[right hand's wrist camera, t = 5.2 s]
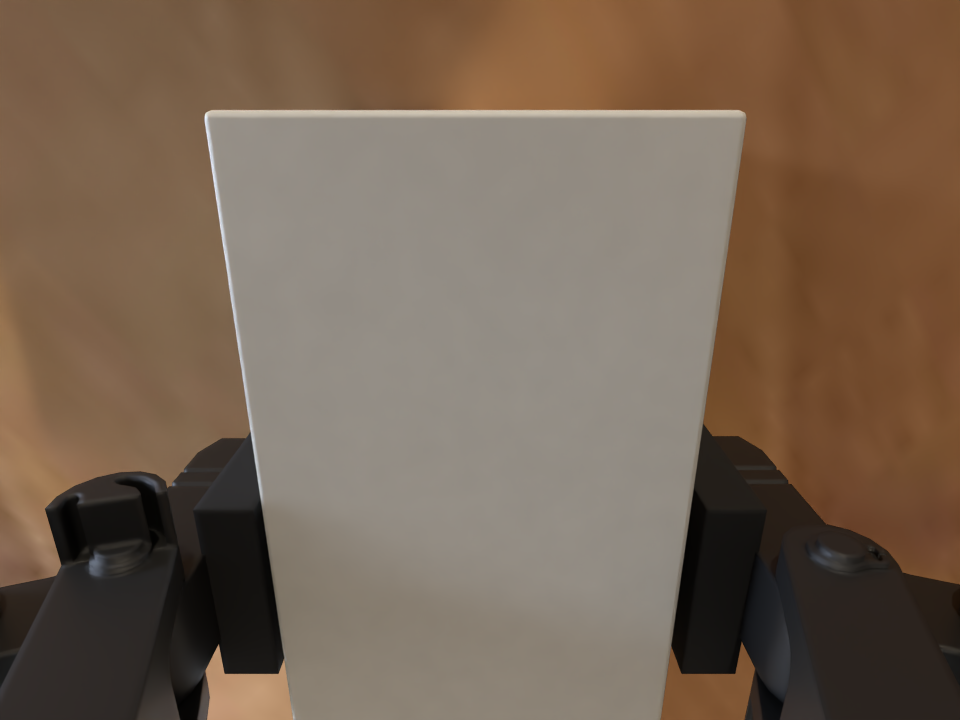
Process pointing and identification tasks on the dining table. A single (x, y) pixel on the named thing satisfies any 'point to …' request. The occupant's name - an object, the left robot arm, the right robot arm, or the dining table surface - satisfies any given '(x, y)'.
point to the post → (476, 395)
